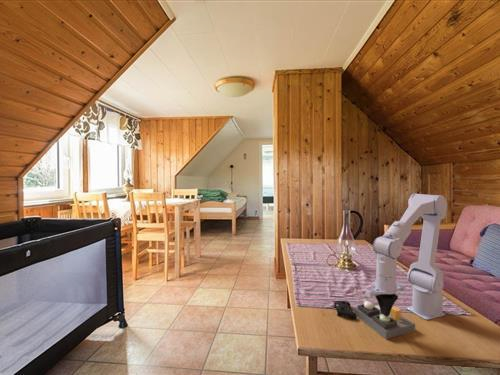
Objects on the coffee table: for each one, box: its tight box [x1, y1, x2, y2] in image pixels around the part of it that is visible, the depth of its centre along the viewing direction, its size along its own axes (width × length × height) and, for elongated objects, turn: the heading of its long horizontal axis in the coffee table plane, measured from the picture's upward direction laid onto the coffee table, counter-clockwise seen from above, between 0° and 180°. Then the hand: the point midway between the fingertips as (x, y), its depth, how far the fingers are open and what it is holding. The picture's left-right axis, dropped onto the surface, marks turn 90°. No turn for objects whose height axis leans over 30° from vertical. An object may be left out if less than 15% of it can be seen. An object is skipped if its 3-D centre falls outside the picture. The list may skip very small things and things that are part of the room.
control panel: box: [354, 302, 416, 340], centre depth 86 cm, size 12×14×4 cm
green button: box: [380, 314, 390, 323], centre depth 81 cm, size 3×3×2 cm
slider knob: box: [389, 305, 402, 320], centre depth 84 cm, size 2×2×3 cm
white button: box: [363, 300, 374, 311], centre depth 88 cm, size 3×3×2 cm
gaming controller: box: [333, 300, 358, 320], centre depth 92 cm, size 10×5×6 cm
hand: (385, 314), depth 81 cm, fingers closed
